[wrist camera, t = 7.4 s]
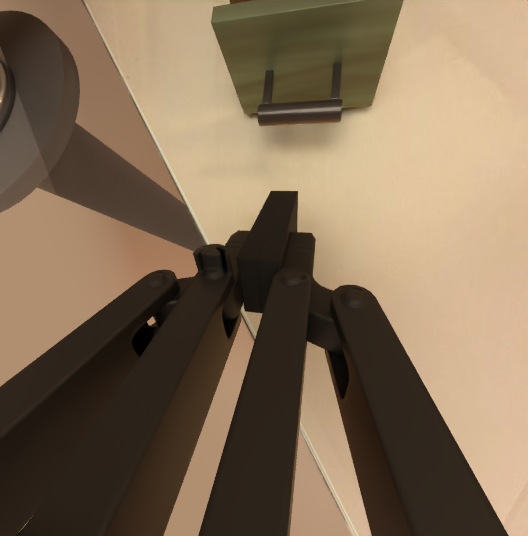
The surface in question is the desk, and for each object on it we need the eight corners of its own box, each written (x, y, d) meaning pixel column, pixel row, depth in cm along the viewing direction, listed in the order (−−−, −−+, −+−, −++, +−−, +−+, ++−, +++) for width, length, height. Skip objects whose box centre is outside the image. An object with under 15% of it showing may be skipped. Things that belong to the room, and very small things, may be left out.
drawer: (369, 151, 20) (402, 62, 13) (239, 155, 23) (202, 81, 15) (378, -28, 22) (412, -198, 15) (258, -8, 25) (234, -145, 17)
